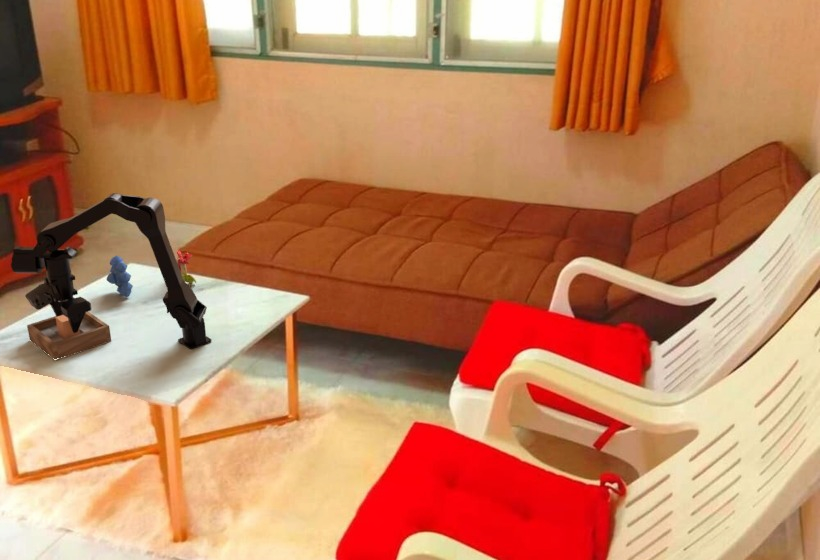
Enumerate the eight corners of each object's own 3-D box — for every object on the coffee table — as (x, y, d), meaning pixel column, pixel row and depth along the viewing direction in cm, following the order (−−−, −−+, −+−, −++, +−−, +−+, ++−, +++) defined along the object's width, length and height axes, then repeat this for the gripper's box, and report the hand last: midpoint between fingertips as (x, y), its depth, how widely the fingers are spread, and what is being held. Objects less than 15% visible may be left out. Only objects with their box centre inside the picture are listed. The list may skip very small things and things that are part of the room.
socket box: (111, 340, 204) (109, 325, 202) (55, 360, 194) (52, 345, 192) (84, 322, 213) (82, 307, 211) (29, 340, 203) (26, 325, 201)
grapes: (102, 291, 232) (96, 254, 227) (124, 285, 236) (119, 249, 231) (116, 305, 224) (110, 267, 219) (138, 299, 227) (134, 261, 223)
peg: (81, 340, 204) (77, 317, 201) (66, 346, 201) (62, 322, 198) (74, 335, 206) (70, 312, 203) (59, 340, 203) (55, 317, 201)
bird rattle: (170, 289, 239) (181, 287, 232) (160, 254, 238) (171, 251, 231) (189, 284, 243) (200, 282, 236) (180, 250, 242) (191, 247, 235)
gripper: (11, 270, 196) (22, 325, 202) (43, 293, 184) (53, 350, 191) (54, 259, 203) (64, 312, 210) (87, 280, 192) (96, 335, 198)
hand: (68, 327), depth 202 cm, fingers open, 8 cm apart
